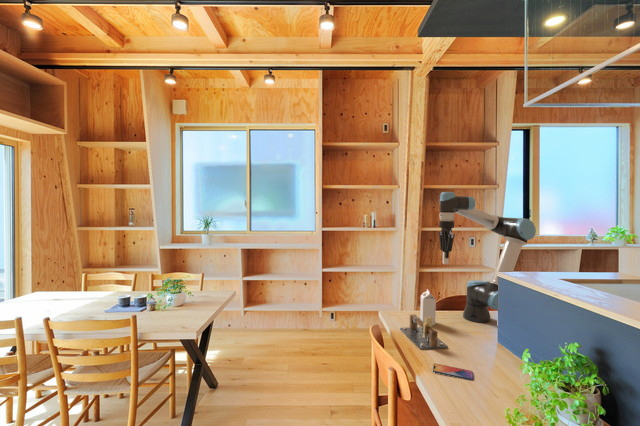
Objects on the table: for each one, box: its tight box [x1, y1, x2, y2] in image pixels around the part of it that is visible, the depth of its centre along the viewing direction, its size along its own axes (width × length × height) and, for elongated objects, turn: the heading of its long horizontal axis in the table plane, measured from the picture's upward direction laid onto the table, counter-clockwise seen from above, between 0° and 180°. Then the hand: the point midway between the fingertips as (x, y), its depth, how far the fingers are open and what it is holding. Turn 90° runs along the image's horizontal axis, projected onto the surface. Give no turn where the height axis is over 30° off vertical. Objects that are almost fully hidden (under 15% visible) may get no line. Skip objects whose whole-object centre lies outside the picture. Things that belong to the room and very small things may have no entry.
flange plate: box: [399, 326, 449, 350], centre depth 169 cm, size 14×25×2 cm, turn 8°
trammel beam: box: [409, 314, 438, 347], centre depth 168 cm, size 3×25×7 cm, turn 8°
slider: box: [423, 317, 433, 341], centre depth 162 cm, size 4×2×11 cm, turn 98°
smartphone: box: [432, 363, 474, 381], centre depth 134 cm, size 7×15×1 cm, turn 68°
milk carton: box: [419, 288, 437, 326], centre depth 191 cm, size 7×7×19 cm
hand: (445, 263), depth 180 cm, fingers closed
